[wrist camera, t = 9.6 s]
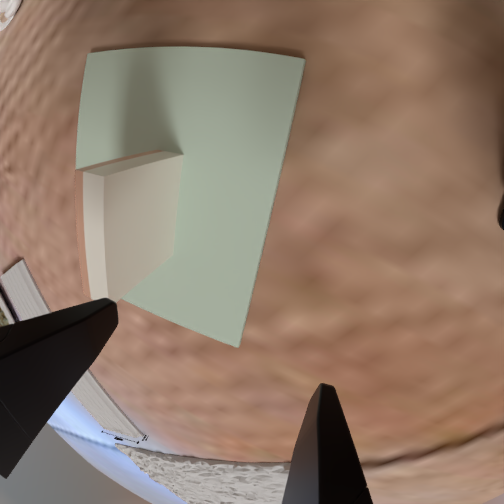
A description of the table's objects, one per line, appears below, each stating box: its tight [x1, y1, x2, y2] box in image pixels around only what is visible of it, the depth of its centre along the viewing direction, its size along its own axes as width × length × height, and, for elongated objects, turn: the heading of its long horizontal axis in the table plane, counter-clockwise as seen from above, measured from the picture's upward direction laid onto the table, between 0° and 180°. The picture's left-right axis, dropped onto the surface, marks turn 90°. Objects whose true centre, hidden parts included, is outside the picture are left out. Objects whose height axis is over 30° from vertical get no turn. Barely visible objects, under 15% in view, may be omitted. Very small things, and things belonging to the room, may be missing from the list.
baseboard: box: [0, 259, 148, 444], centre depth 34 cm, size 31×3×12 cm
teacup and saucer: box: [0, 0, 22, 31], centre depth 14 cm, size 9×8×4 cm
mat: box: [76, 47, 306, 348], centre depth 19 cm, size 16×20×1 cm
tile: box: [75, 150, 184, 302], centre depth 16 cm, size 2×7×7 cm, turn 169°
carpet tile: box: [115, 443, 291, 504], centre depth 40 cm, size 39×30×2 cm
